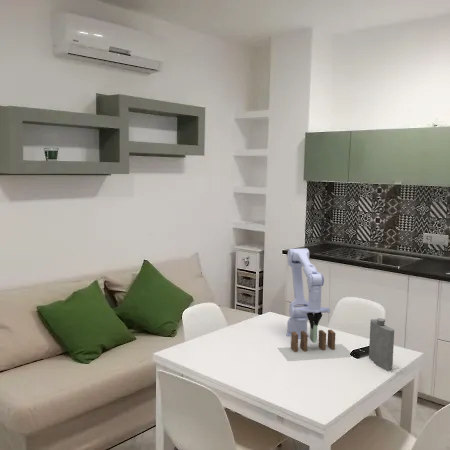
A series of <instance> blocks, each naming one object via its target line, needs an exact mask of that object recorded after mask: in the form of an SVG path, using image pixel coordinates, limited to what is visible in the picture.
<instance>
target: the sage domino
mask: <svg viewBox="0 0 450 450" xmlns="http://www.w3.org/2000/svg"><path fill="white" fill-rule="evenodd" d="M309 335H310V336H309V340H310V341H311V342H312V344H316V343H318V340H317V339H318V326H317V325H315V324H314V325H313V329H311V327H309Z"/></svg>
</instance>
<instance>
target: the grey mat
mask: <svg viewBox="0 0 450 450" xmlns="http://www.w3.org/2000/svg"><path fill="white" fill-rule="evenodd" d="M277 350H278V351H279V352H280V353H281V354H282V356H283V357H284V358H285V359H286V361H287V362H296V361H298V362H299V361H310V360H313V361H315V360H326V359H339V358H341V359H342V358H343V359H344V358H353V356H351V355H350V353H351V351H350V350H349V349H348V348H347V347H345V346H344V345H343V343H335V350H331V349H330V348H329V347H328V346H327V344H326V350H323V351H322V350H321V349H320V348H319V347H318V345H307V352H304V351H303V350H302V349H301V348H300V346H298V352H294V351H293V350H292V349H291V346H287V347H277Z"/></svg>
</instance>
